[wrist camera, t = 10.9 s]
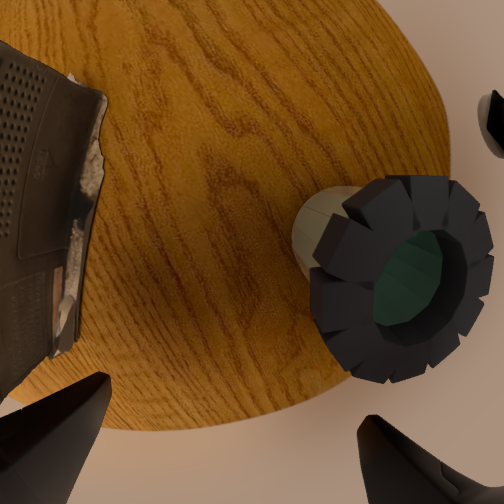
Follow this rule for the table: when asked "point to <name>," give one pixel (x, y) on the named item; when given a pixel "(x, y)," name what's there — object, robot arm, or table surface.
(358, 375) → the ring
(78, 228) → the radio
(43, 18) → the table surface
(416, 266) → the cup
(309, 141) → the table surface
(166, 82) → the table surface
